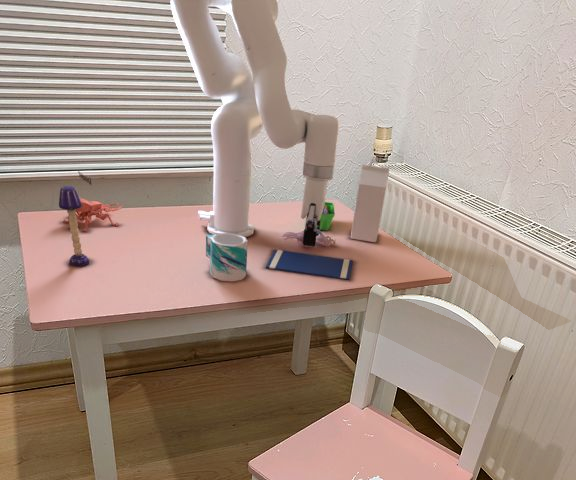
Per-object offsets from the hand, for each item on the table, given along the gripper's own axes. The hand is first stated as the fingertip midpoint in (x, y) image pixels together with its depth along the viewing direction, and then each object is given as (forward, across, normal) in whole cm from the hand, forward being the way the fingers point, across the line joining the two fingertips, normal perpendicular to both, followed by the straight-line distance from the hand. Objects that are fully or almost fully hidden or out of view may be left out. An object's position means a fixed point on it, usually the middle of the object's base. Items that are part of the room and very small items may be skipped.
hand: (310, 239), depth 151 cm
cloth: (+2, +13, +2) cm, 13 cm away
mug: (+2, +24, -17) cm, 30 cm away
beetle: (+2, +5, -57) cm, 58 cm away
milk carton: (+2, -13, +14) cm, 19 cm away
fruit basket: (+2, -18, 0) cm, 18 cm away
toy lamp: (+2, +31, -49) cm, 58 cm away
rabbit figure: (+2, +1, 0) cm, 2 cm away
